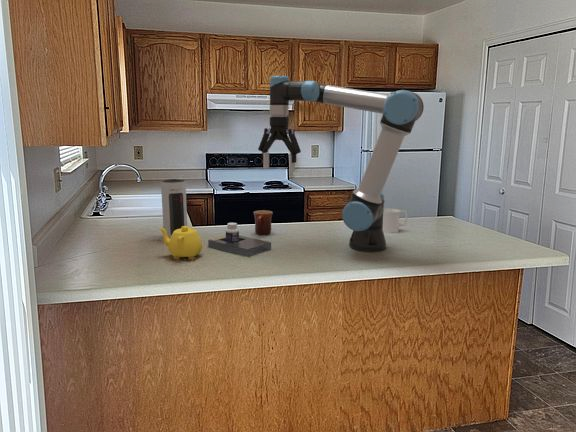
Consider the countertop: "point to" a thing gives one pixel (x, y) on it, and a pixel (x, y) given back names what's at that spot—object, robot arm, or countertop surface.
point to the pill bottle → (232, 233)
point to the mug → (263, 222)
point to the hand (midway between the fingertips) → (278, 169)
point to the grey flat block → (240, 245)
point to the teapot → (183, 242)
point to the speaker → (173, 205)
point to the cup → (392, 220)
